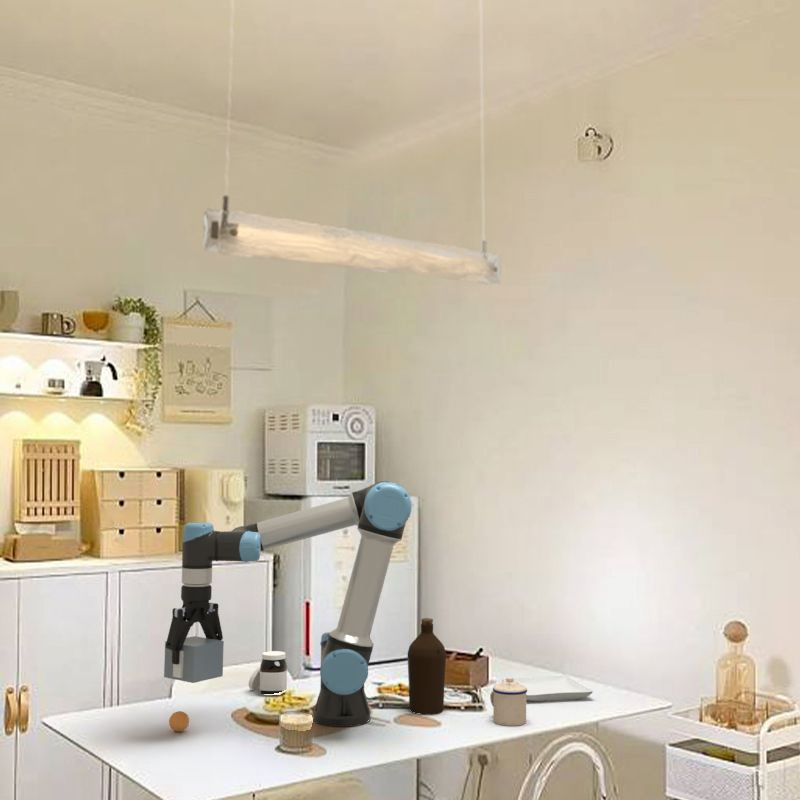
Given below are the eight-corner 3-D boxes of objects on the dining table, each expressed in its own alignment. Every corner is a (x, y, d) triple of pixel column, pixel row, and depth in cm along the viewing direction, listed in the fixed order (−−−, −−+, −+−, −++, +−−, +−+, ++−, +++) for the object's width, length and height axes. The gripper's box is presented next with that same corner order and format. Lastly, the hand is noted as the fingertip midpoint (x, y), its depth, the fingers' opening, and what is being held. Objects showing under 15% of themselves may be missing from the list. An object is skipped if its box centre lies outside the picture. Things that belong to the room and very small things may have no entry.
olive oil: (450, 708, 296) (451, 617, 297) (438, 717, 286) (438, 623, 287) (415, 704, 300) (415, 615, 301) (401, 713, 290) (402, 620, 291)
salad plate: (525, 706, 301) (525, 693, 302) (500, 689, 322) (500, 677, 322) (594, 702, 306) (594, 690, 306) (566, 686, 327) (566, 674, 327)
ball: (176, 713, 274) (182, 732, 272) (162, 717, 269) (168, 736, 268) (189, 706, 271) (195, 725, 270) (175, 710, 267) (181, 729, 266)
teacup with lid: (534, 723, 281) (534, 678, 281) (508, 728, 276) (508, 682, 276) (503, 713, 291) (504, 670, 291) (478, 718, 285) (478, 674, 286)
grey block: (222, 676, 268) (223, 640, 269) (193, 683, 260) (194, 646, 260) (193, 670, 274) (194, 636, 275) (164, 677, 266) (165, 641, 266)
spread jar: (284, 697, 307) (284, 656, 307) (245, 697, 307) (245, 656, 308) (289, 688, 319) (289, 648, 319) (251, 687, 319) (252, 648, 320)
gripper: (217, 579, 280) (215, 664, 279) (152, 587, 261) (149, 679, 260) (238, 581, 275) (236, 668, 274) (173, 590, 257) (170, 683, 256)
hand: (193, 673), depth 267 cm, fingers closed on grey block, 10 cm apart
